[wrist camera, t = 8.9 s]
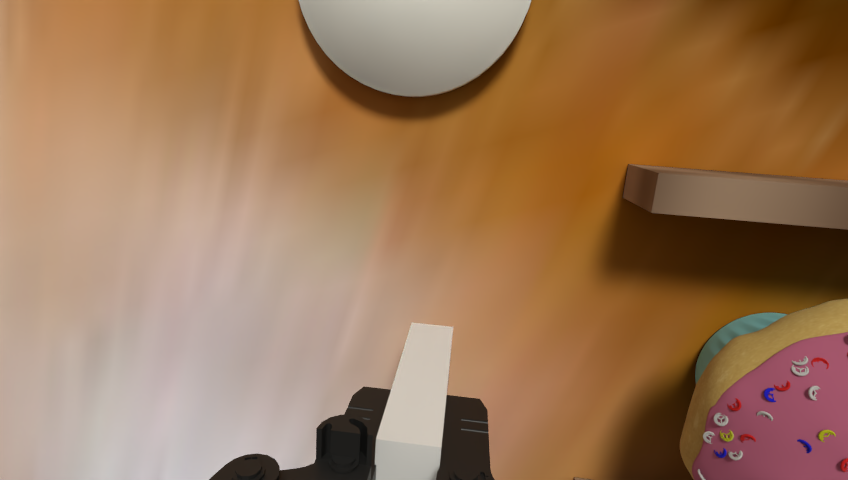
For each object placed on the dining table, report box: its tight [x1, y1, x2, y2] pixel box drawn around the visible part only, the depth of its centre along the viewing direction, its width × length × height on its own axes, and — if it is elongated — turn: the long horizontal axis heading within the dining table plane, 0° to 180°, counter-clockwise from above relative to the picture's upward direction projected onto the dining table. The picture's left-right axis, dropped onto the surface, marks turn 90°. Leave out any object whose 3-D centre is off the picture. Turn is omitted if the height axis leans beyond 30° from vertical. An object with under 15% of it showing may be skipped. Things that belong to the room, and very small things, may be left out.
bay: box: [574, 164, 848, 480], centre depth 17 cm, size 11×14×3 cm
